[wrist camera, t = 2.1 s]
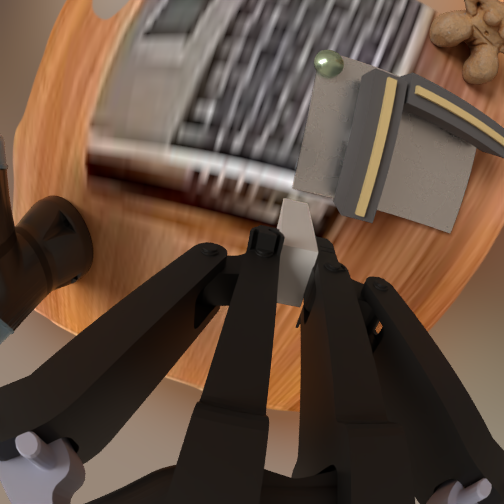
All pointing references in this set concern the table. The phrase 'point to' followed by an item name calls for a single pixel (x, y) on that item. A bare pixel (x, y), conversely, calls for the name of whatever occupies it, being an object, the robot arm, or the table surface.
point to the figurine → (474, 36)
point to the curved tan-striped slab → (452, 114)
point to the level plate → (404, 155)
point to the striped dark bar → (370, 144)
